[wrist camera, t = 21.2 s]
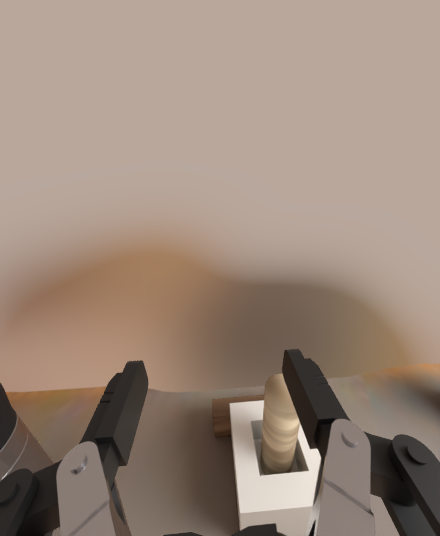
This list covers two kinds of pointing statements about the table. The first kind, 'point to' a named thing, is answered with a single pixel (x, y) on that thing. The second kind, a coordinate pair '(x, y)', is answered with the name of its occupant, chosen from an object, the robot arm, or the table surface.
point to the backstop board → (227, 413)
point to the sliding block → (270, 476)
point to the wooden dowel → (278, 428)
